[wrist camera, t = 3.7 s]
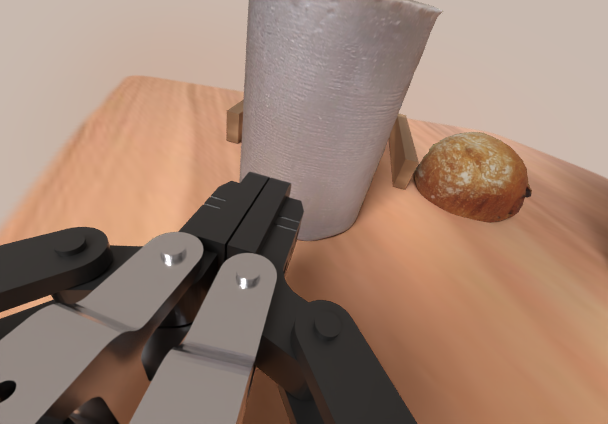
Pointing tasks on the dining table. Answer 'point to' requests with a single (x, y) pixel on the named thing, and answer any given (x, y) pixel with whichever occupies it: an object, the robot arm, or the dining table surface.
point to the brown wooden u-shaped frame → (399, 144)
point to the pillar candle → (327, 97)
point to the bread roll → (474, 177)
